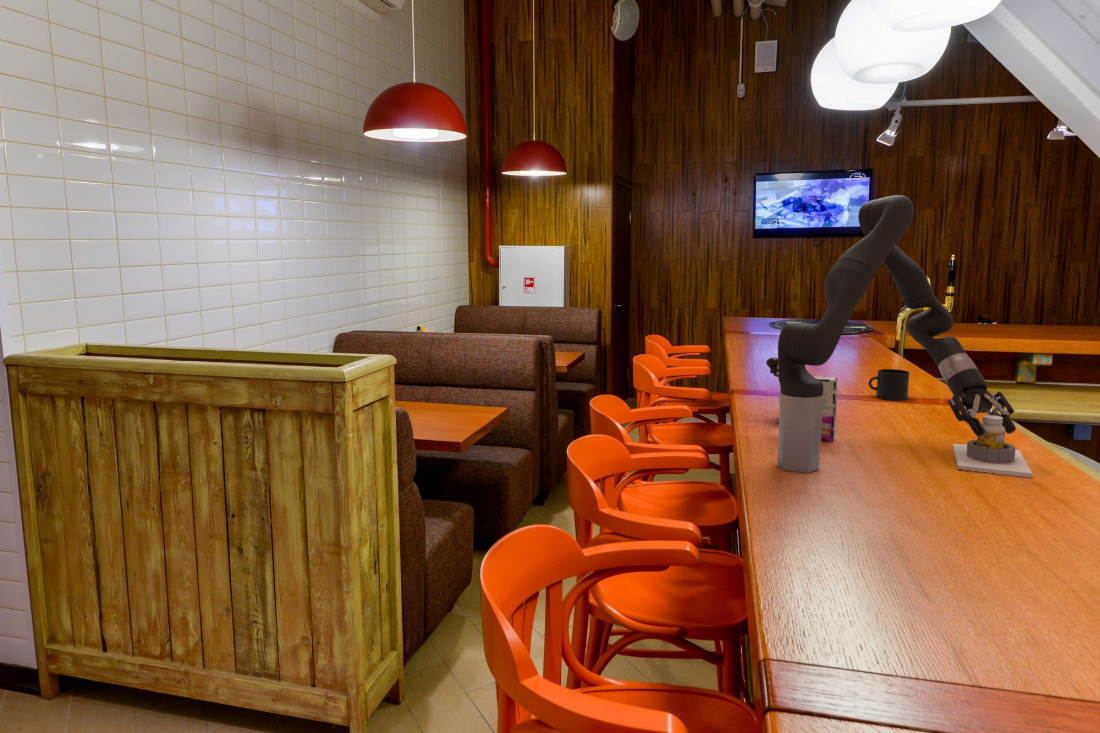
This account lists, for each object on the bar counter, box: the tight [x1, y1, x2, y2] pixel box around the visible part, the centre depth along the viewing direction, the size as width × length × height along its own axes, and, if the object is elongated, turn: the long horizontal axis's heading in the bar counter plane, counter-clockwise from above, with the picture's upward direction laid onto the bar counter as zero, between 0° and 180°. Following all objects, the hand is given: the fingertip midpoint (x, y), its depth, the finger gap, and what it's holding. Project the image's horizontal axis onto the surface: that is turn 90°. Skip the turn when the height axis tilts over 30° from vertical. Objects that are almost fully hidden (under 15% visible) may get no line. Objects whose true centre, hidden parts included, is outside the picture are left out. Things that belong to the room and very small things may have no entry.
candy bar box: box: [812, 375, 839, 443], centre depth 189 cm, size 11×5×16 cm, turn 62°
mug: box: [868, 368, 910, 402], centre depth 238 cm, size 9×12×9 cm
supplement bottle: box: [976, 414, 1006, 449], centre depth 167 cm, size 5×5×10 cm
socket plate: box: [952, 439, 1033, 478], centre depth 167 cm, size 20×14×4 cm
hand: (997, 433), depth 165 cm, fingers open, 8 cm apart
